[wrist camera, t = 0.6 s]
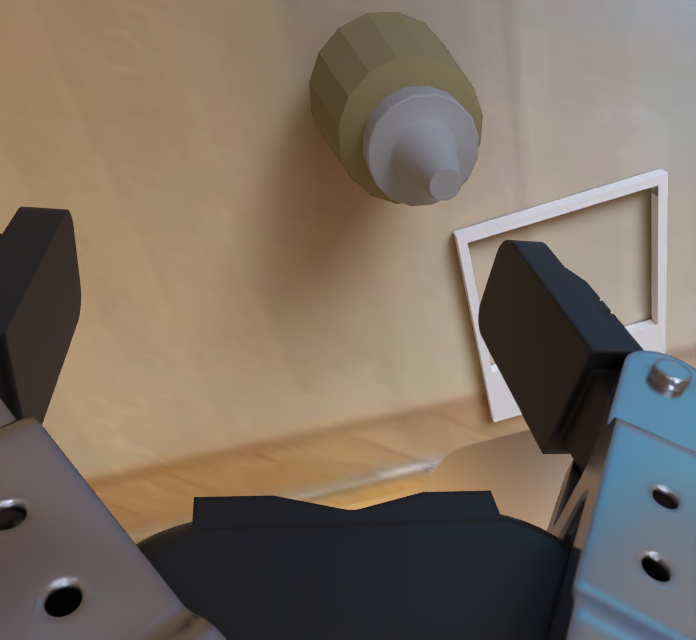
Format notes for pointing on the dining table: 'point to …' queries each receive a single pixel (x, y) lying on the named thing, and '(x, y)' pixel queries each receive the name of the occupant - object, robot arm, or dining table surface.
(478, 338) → the photo frame
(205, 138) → the dining table surface
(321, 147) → the dining table surface
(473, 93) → the squeeze bottle
